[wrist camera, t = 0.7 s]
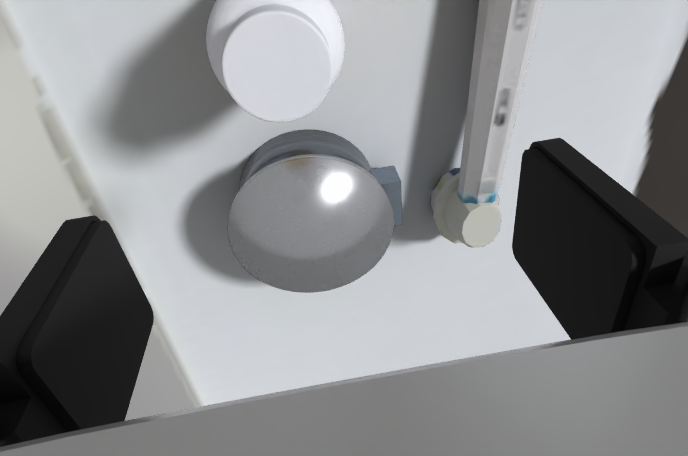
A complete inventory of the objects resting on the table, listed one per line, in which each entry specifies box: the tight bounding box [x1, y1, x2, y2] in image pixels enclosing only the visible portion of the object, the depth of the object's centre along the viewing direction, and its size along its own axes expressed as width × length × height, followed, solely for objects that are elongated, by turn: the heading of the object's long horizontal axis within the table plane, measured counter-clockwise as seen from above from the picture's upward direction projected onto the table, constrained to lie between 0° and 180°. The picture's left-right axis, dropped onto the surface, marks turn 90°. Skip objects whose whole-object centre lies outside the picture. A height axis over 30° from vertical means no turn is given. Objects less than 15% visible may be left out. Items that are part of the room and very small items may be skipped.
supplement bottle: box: [206, 0, 345, 122], centre depth 25 cm, size 7×7×13 cm
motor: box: [228, 130, 402, 292], centre depth 36 cm, size 12×13×6 cm
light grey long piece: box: [430, 0, 543, 248], centre depth 33 cm, size 5×7×25 cm
